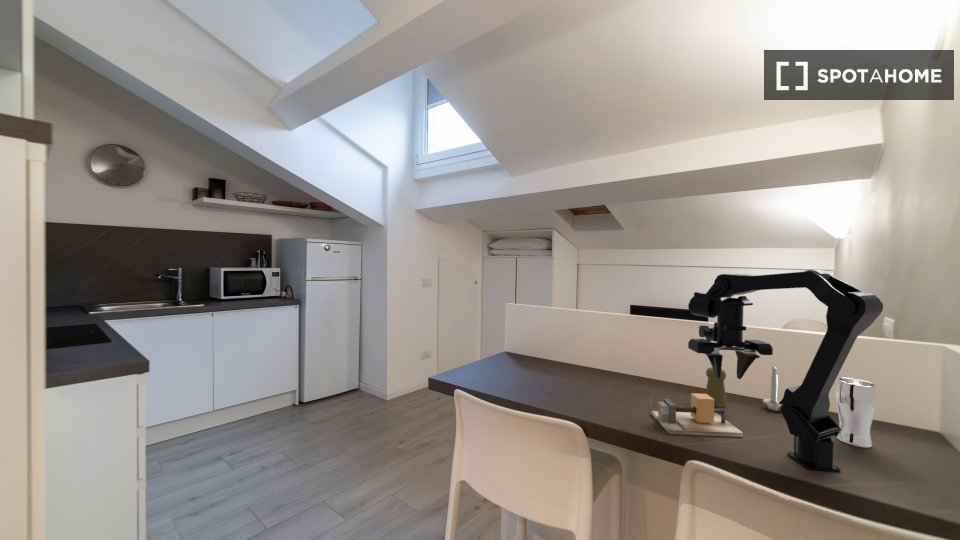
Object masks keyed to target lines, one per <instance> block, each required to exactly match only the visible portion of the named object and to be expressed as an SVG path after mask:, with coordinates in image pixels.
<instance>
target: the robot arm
mask: <svg viewBox="0 0 960 540" xmlns="http://www.w3.org/2000/svg"><path fill="white" fill-rule="evenodd" d="M713 282H714V283H713V284H712V286H711V287H710V288H709V289H708V291H706V293H704V292H702V291H701V292H700V291H695V292H693V296H692V297H691V298H690V300H689V302H688V307H687V308H688V311H689V313H690V314H692V315H694V316H699V317H705V318H712V319H714V318H716V317H717V318H716V319H717V320H716V321H715V322H714V324H713V327H712V328H711V327H709V325H699V327H698V336H699V337H700V338H691V339H689V341H688V342H687V348H688V349H689V350H691V351H693V352H695V353H697V354H704V355H706V357H707V358H708V360H709V362H710V364H711V368H713V371H714V373H715V376H716V378H720V375H721V369H722V365H723V357H724V356H723V354H720V351H735V354H736V379H738V380H742V378H743V376H744V375H745V373H746V372H747V370H748V369H749V368H750V367H751V365H752V364H753V363H754V362H755V360H756V359H760V357H761V356H773V354H774V348H773V346H772V344H770V343H769V342H766V341H763V340H759V339H745V340H744V341H743V338H744V337H743V335H744V331H747V326H745V325H744V307H745V306H747V307H748V306H753V305H754V303H753V302H752V301H751V300H750V299H748V297H747V296H745V295H746V294H750V293H755V292H757V291H762V290H763V291H765V290H781V289H782V290H783V289H803V288H805V289H807V290H809V291H810V293H812V294H813V296H814V297H815V298H816V299H817V301H819V302H821V303H822V304H824V306H826V307H827V310H826V315H825V318H826V319H825V321H826V331H825V335H824V336H823V338H822V341H821V342H820V344H819V347H818V349H817V351H816V352H815V355H814V357H813V360H812V361H811V364H810V366H809V368H808V370H807V372H806V374H805V376H804V379H803V381H802V383H801V384H800V385H797V386H794V387H793V386H792V387H789V388H788V387H787V388H786V389H785V390H784V393H783V397H782V398H781V400H779V401H780V402H779V404H782V405H781V406H780V407H779V409H780V410H779V411H780V414H781V415H782V417H783V419H784V420H785V422H786V423H785V424H786V426H787V428H788V431H789V434H790V435H793V451H787V455H788V456H789V457H791V458H792V459H793V460H795V461H796V462H798V463H800V465H802V466H803V467H805V468H806V469H807V470H811V471H812V470H813V471H833V472H841V468H840V467H839V466H838V465H836V464H835V463H833V462H834V446H835V445H834V444H835V443H834V441H833V440H832V438H834V437H836V438H837V436H838V435H839V433H840V431H841V428H840V427H839V424H838V423H837V422H836V421H835V419H833V418H832V417H831V416H830V415H829V412H830V407H831V403H830V402H831V401H830V392H831V390H832V387H833V386H834V384H835V381H836V380H837V379H838V376H839V374H840V372H841V369H842V368H843V366H844V364H845V362H846V360H847V358H848V356H849V354H850V351H851V350H852V348H853V346H854V344H855V343H856V340H857V338H858V337H859V336H860V335H861V334H862V333H864V332H865V331H866V330H867V329H868V328H869V327H870V326H872V324H874V322H875V321H876V320H877V318H878V317H879V316H880V315H881V314H882V313H883V309H884V304H883V302H882V301H881V299H880V298H879V297H878V296H877V295H875V294H873V293H871V292H868V291H862V290H860V289H859V288H858V287H855V286H854V285H851V284H850V283H847V282H845V281H844V280H841V279H839V278H837V277H835V276H834V275H833V274H830V273H829V272H828V271H826V270H823V269H807V270H805V271H796V272H795V271H794V272H785V273H784V272H783V273H774V274H762V275H754V274H746V273H723V274H718V275H717V276H716V278H715V279H714V281H713ZM734 296H738V297H734ZM757 353H758V354H759V355H758V354H757Z"/></svg>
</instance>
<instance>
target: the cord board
mask: <svg viewBox="0 0 960 540" xmlns="http://www.w3.org/2000/svg"><path fill="white" fill-rule="evenodd" d="M650 412H651V413H650V414H651V415H652V416H653V417H654V419H655V420H657V422H658V423H659V424H660V425H661V426H662V428H664V430H665V431H666V432H667V433H668V434H669V435H687V436H688V435H689V436H690V435H691V436H709V437H710V436H712V437H715V436H716V437H733V438H735V437H736V438H739V437H740V438H743V437H744V432H742V431H741V430H740V429H738V428H737V427H736V426H734V425H733V424H732V423H731V422H729V421H727V417H726V411H725V409H724V408H714V423H706V422H697V421H696V420H695V419H694V418H693V417H692V416H691V412H693V413H696V408H691V407H684V406H683V407H682V406H681V407H679V406H677V405H676V403H674V402H673V401H672V400H671V399H670V398H663V401H658V402H657V410H651V411H650Z"/></svg>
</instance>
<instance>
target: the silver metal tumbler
mask: <svg viewBox="0 0 960 540" xmlns="http://www.w3.org/2000/svg"><path fill="white" fill-rule="evenodd" d="M835 390H836V391H835V403H836V410H837V413H838V415H837V416H838V420H839V424H838V426H839V427H840V428H841V431H840V433H839V435H838V436H836V438H837V439H838V440H839V441H840V442H842V443H845V444H847V445H850V446H854V447H859V448H863V449H864V448H865V449H868V448H871V447H872V446H873V443H872V438H871V427H872V424H873V420H874V416H875V414H876V409H877V388H876V384H875V383H873V382H872V381H869V380H868V381H867V380H863V379H858V378H852V377H837V383H836V389H835Z"/></svg>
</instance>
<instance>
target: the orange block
mask: <svg viewBox="0 0 960 540" xmlns="http://www.w3.org/2000/svg"><path fill="white" fill-rule="evenodd" d="M690 408H696V413H693V412H691V416H692V417H693V418H694V419H695V420H696V421H697V422H706V423H714V409H715V406H714V399H713V398H712V397H710V396H709V395H707V394H705V393H694V392H693V393H692V392H691V393H690Z"/></svg>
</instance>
